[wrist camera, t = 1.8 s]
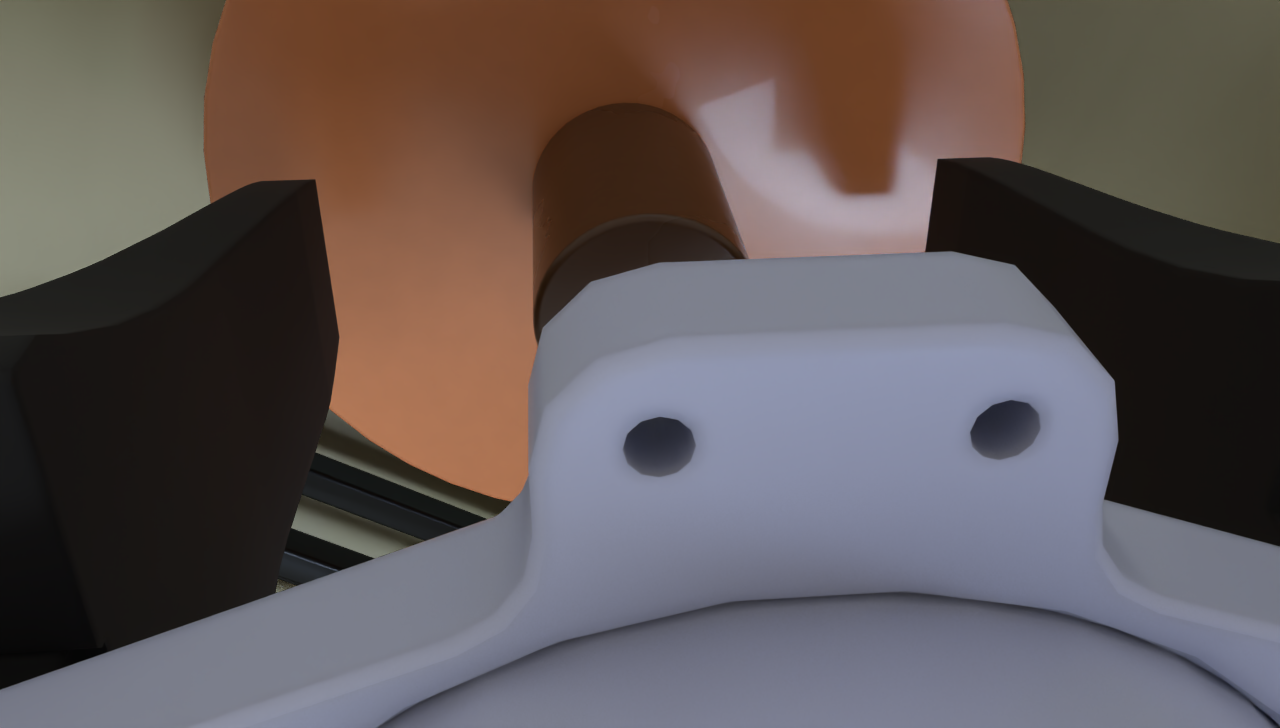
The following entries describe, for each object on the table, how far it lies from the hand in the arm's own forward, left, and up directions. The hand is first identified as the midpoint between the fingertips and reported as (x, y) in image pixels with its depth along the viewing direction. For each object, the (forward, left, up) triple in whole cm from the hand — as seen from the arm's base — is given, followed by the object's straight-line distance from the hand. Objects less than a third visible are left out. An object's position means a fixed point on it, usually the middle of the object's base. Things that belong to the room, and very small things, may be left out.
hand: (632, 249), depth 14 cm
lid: (0, 0, -2) cm, 2 cm away
